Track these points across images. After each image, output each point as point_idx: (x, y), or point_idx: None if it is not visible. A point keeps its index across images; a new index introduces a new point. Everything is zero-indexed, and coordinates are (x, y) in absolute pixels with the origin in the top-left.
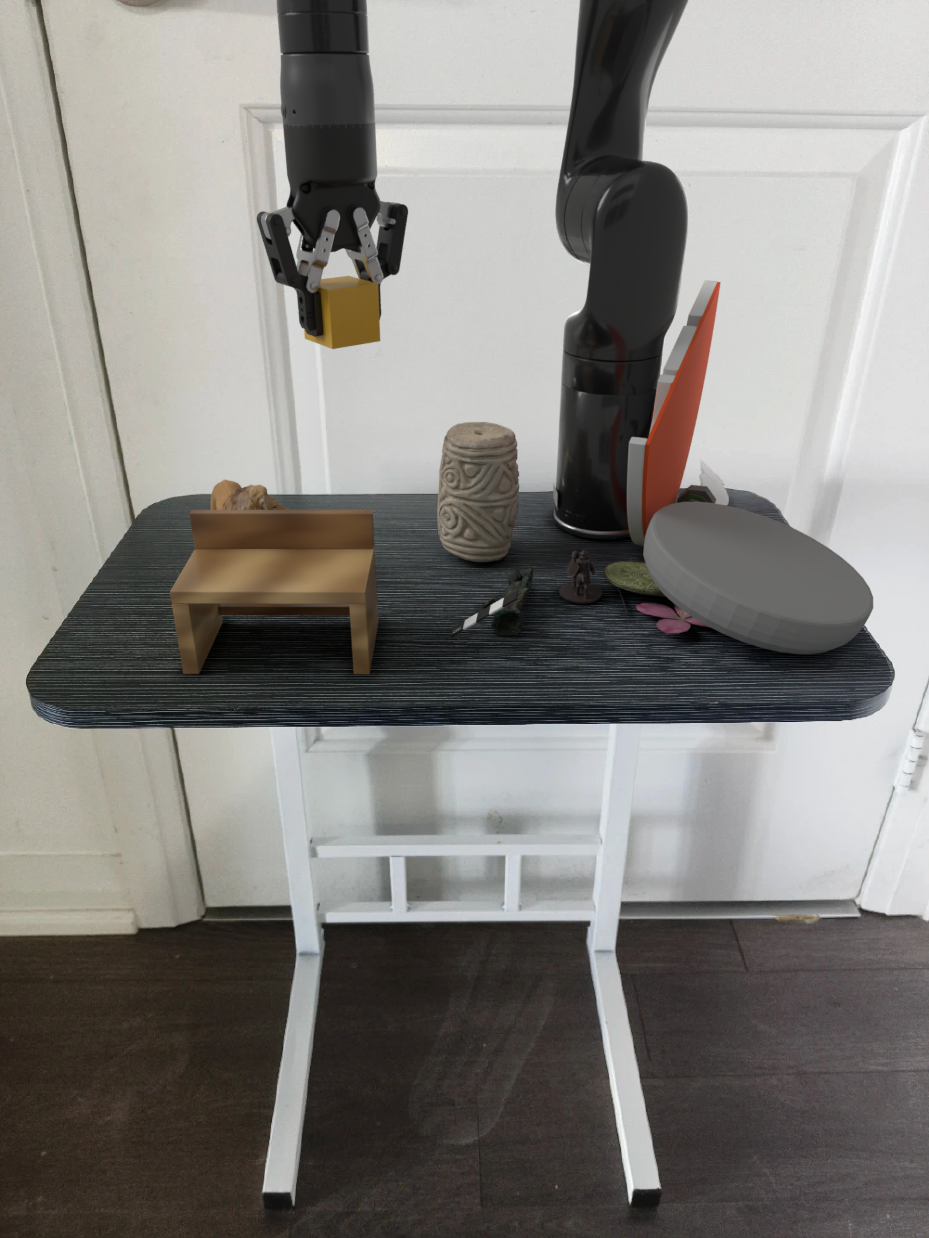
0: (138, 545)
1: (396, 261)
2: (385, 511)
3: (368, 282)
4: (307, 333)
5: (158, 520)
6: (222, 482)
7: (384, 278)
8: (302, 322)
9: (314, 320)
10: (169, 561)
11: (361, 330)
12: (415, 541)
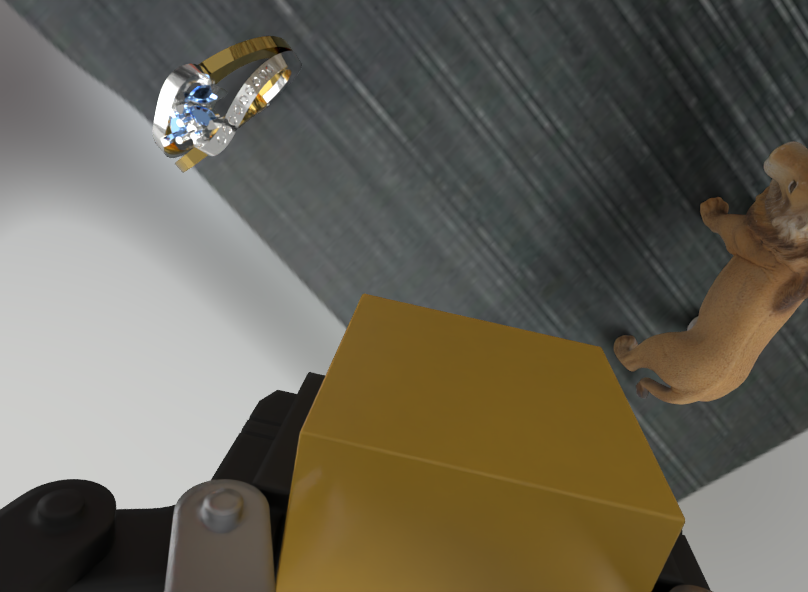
0: (750, 444)
1: (5, 542)
2: (362, 229)
3: (320, 497)
4: None
5: None
6: (725, 382)
7: (152, 509)
8: None
9: None
10: (772, 359)
11: (453, 339)
12: (429, 74)
